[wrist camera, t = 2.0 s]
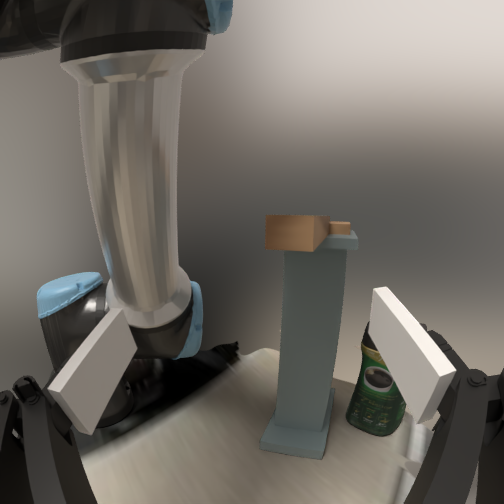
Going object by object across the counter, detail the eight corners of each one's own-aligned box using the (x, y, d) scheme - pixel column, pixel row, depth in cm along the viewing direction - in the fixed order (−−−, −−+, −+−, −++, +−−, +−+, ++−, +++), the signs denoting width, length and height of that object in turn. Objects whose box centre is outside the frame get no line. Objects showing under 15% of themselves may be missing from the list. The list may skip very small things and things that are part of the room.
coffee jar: (405, 416, 34) (436, 318, 31) (386, 443, 29) (423, 338, 26) (361, 399, 41) (380, 306, 39) (337, 421, 36) (357, 320, 34)
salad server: (227, 247, 17) (228, 214, 17) (299, 227, 42) (299, 215, 41) (355, 254, 14) (356, 217, 14) (348, 230, 39) (349, 216, 39)
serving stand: (259, 449, 31) (265, 234, 27) (286, 390, 46) (295, 227, 42) (321, 459, 28) (358, 239, 24) (333, 396, 43) (353, 230, 39)
